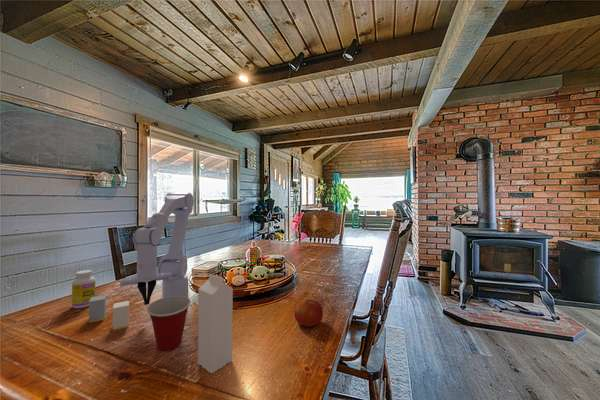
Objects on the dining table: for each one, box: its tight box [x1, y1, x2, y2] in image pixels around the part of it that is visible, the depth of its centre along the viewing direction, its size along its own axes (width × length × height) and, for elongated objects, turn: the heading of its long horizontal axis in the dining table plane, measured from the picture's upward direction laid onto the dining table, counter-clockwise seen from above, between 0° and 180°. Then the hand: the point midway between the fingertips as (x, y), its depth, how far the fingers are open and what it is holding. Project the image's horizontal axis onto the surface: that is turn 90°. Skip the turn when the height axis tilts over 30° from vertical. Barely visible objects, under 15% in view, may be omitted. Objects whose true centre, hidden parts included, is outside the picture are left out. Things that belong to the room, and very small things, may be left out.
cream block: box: [112, 300, 130, 331], centre depth 78 cm, size 4×4×7 cm
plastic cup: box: [146, 295, 192, 352], centre depth 68 cm, size 11×11×12 cm
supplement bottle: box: [71, 269, 96, 309], centre depth 92 cm, size 7×7×13 cm
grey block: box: [88, 294, 107, 323], centre depth 82 cm, size 4×4×7 cm
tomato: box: [293, 298, 324, 327], centre depth 80 cm, size 9×9×8 cm
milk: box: [197, 273, 234, 375], centre depth 61 cm, size 6×6×22 cm
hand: (146, 303), depth 82 cm, fingers closed
